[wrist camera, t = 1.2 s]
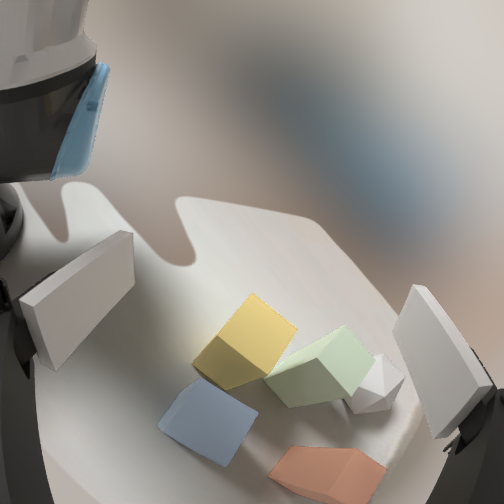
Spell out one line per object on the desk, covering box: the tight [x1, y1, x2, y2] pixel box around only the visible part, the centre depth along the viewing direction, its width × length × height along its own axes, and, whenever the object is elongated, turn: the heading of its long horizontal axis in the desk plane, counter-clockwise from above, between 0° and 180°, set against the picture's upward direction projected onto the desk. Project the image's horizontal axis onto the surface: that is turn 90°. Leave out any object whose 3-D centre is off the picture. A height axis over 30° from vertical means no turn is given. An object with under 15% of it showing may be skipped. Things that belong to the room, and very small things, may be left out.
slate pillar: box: [156, 377, 259, 468], centre depth 21 cm, size 5×5×12 cm
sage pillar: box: [263, 324, 376, 408], centre depth 28 cm, size 5×5×12 cm
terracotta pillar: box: [268, 445, 387, 504], centre depth 21 cm, size 5×5×12 cm
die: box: [344, 354, 406, 414], centre depth 32 cm, size 8×9×10 cm
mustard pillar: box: [192, 293, 298, 391], centre depth 27 cm, size 5×5×12 cm
